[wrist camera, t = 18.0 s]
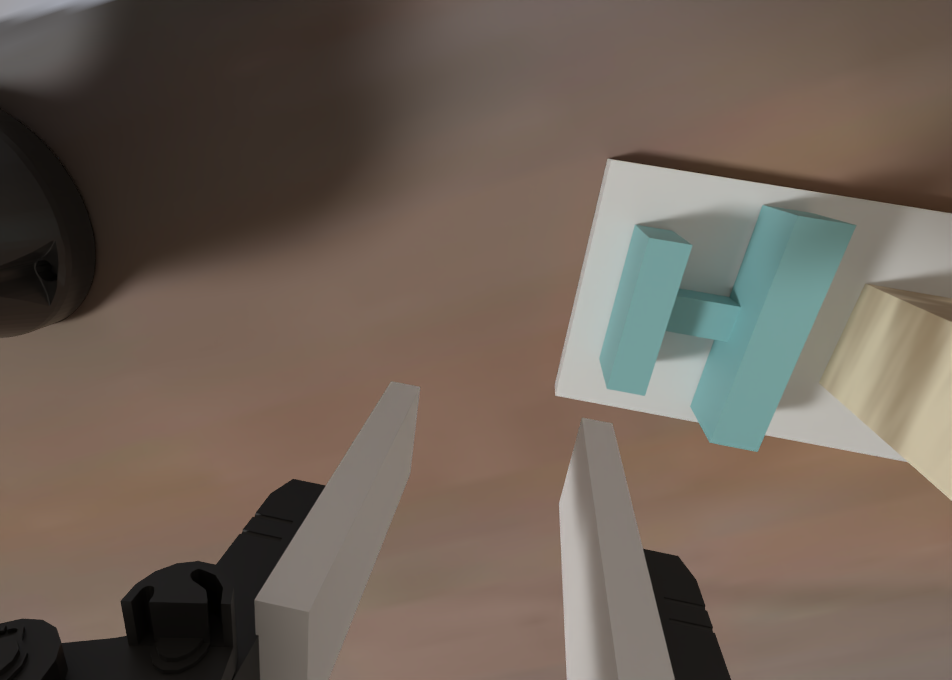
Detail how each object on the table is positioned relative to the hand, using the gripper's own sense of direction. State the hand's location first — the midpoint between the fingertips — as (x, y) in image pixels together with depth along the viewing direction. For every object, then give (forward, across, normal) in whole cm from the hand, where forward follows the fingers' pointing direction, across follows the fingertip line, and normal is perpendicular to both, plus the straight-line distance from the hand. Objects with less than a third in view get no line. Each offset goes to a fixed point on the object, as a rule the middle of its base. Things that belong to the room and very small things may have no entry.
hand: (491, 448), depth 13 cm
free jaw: (+17, +10, 0) cm, 20 cm away
